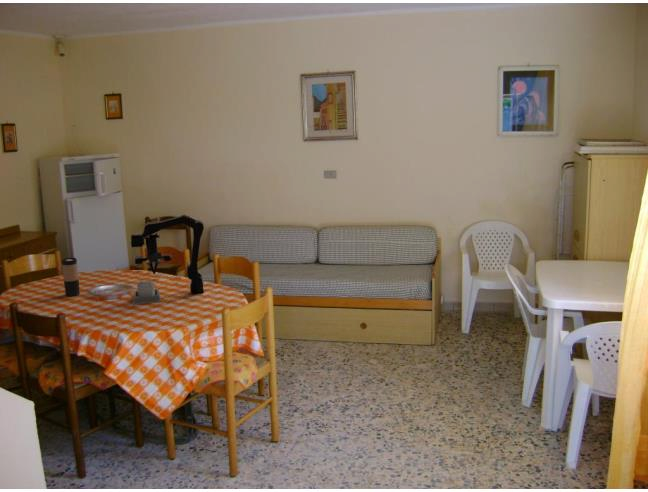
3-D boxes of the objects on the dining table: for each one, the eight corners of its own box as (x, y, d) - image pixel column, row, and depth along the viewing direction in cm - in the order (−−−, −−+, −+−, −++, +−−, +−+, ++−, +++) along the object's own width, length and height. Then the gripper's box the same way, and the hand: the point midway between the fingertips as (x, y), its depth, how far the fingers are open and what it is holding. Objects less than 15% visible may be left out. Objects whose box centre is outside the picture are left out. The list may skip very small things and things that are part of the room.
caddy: (159, 293, 363) (159, 288, 362) (160, 301, 348) (160, 296, 347) (133, 295, 359) (132, 290, 359) (133, 304, 344) (132, 298, 344)
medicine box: (155, 296, 355) (154, 280, 353) (152, 299, 351) (151, 283, 349) (141, 296, 356) (139, 280, 354) (138, 299, 351) (136, 283, 350)
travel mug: (62, 295, 362) (58, 260, 357) (73, 292, 368) (69, 257, 364) (72, 297, 358) (68, 261, 354) (83, 293, 365) (79, 258, 360)
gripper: (134, 251, 344) (136, 280, 347) (170, 247, 349) (173, 276, 353) (133, 246, 354) (136, 274, 358) (169, 243, 360) (171, 271, 363)
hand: (154, 274), depth 358 cm, fingers closed
